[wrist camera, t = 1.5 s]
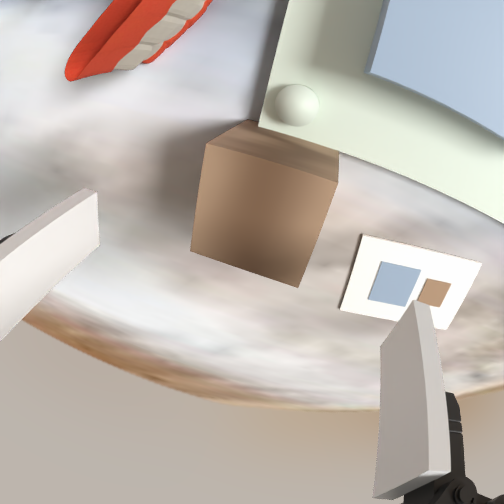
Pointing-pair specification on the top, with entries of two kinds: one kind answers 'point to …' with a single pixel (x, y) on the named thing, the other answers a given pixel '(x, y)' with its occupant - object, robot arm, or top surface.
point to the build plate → (374, 107)
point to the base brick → (445, 55)
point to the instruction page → (407, 280)
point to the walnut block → (263, 200)
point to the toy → (132, 35)
